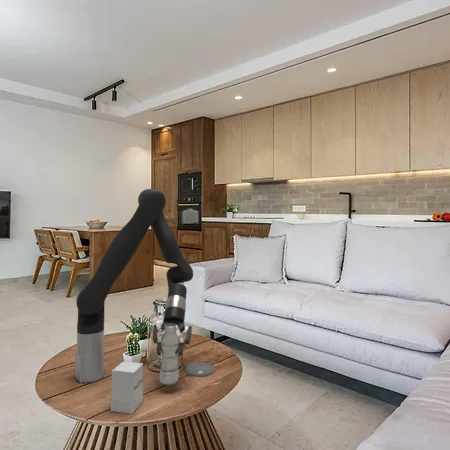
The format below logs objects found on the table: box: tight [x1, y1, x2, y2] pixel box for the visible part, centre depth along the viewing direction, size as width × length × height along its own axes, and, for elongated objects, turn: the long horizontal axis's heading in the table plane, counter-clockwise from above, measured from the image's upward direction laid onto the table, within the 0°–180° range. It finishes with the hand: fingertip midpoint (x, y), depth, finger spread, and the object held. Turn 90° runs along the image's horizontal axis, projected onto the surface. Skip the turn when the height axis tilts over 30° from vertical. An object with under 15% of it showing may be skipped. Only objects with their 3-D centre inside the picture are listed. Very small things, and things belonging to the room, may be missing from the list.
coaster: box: [185, 361, 215, 378], centre depth 137 cm, size 11×11×1 cm
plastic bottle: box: [158, 324, 180, 386], centre depth 122 cm, size 6×7×20 cm
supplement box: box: [110, 361, 144, 415], centre depth 111 cm, size 7×7×13 cm
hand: (169, 354), depth 120 cm, fingers closed on plastic bottle, 6 cm apart
